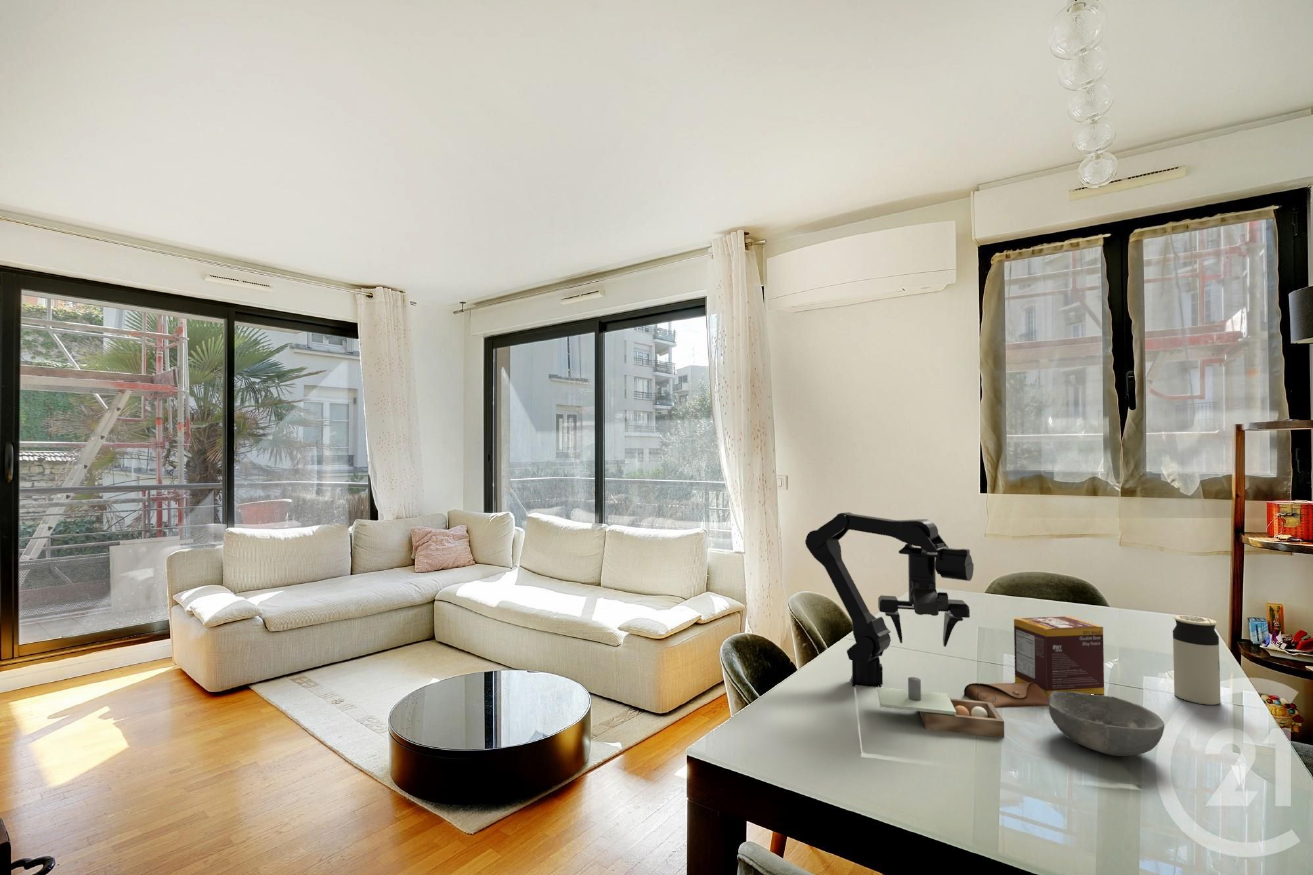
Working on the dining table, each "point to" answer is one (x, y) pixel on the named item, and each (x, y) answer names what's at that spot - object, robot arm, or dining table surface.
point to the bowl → (1105, 723)
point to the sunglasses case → (1007, 694)
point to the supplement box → (1059, 654)
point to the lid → (915, 699)
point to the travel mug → (1196, 660)
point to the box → (966, 720)
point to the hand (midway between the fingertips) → (922, 644)
